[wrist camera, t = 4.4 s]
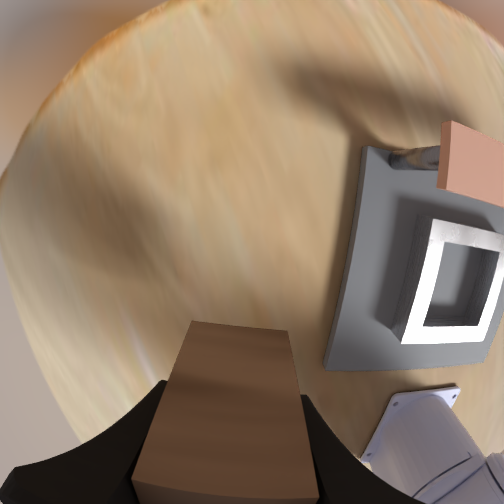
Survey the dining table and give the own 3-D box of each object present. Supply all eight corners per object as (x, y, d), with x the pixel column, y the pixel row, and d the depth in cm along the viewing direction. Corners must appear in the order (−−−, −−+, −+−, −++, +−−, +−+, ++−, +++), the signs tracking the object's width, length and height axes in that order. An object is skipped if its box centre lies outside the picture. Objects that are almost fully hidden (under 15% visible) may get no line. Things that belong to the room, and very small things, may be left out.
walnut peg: (273, 401, 13) (284, 549, 6) (190, 392, 13) (153, 536, 6) (287, 330, 13) (319, 497, 5) (192, 320, 12) (131, 479, 5)
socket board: (478, 357, 21) (522, 401, 14) (322, 362, 21) (347, 436, 14) (522, 184, 17) (586, 195, 10) (363, 131, 17) (425, 110, 10)
